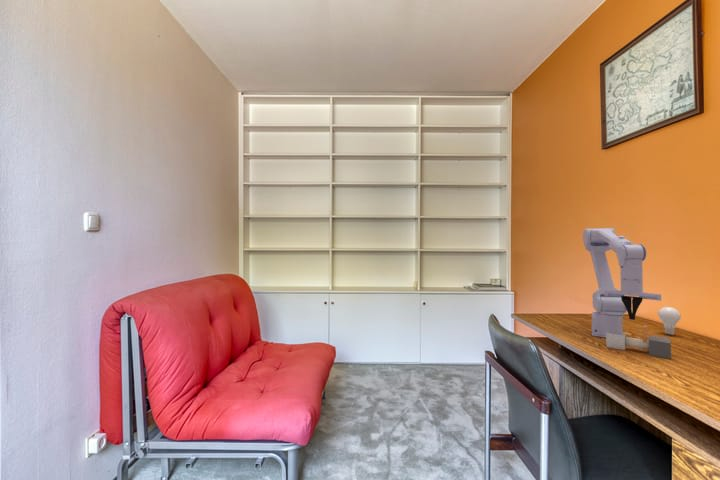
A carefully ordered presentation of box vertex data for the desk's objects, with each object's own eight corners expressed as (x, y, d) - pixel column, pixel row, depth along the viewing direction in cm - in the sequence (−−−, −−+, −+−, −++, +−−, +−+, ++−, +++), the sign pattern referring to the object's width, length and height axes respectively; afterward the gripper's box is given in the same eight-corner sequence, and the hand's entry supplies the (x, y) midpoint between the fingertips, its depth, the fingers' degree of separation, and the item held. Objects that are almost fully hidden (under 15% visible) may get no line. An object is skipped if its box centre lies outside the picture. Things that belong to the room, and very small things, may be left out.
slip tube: (617, 345, 107) (617, 323, 107) (618, 343, 109) (617, 322, 109) (662, 353, 100) (661, 329, 100) (661, 350, 102) (661, 327, 102)
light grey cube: (606, 347, 108) (606, 332, 109) (607, 343, 112) (607, 329, 112) (625, 350, 105) (624, 335, 105) (625, 346, 109) (625, 332, 109)
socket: (649, 355, 100) (648, 339, 100) (649, 349, 105) (648, 335, 105) (671, 359, 97) (670, 343, 97) (669, 353, 102) (669, 338, 102)
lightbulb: (686, 337, 119) (685, 308, 119) (669, 337, 119) (668, 308, 119) (669, 332, 125) (669, 305, 125) (653, 332, 125) (653, 305, 125)
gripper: (603, 278, 108) (603, 317, 108) (660, 282, 98) (661, 325, 98) (605, 277, 113) (606, 314, 113) (660, 280, 103) (661, 321, 103)
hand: (632, 319), depth 106 cm, fingers closed
